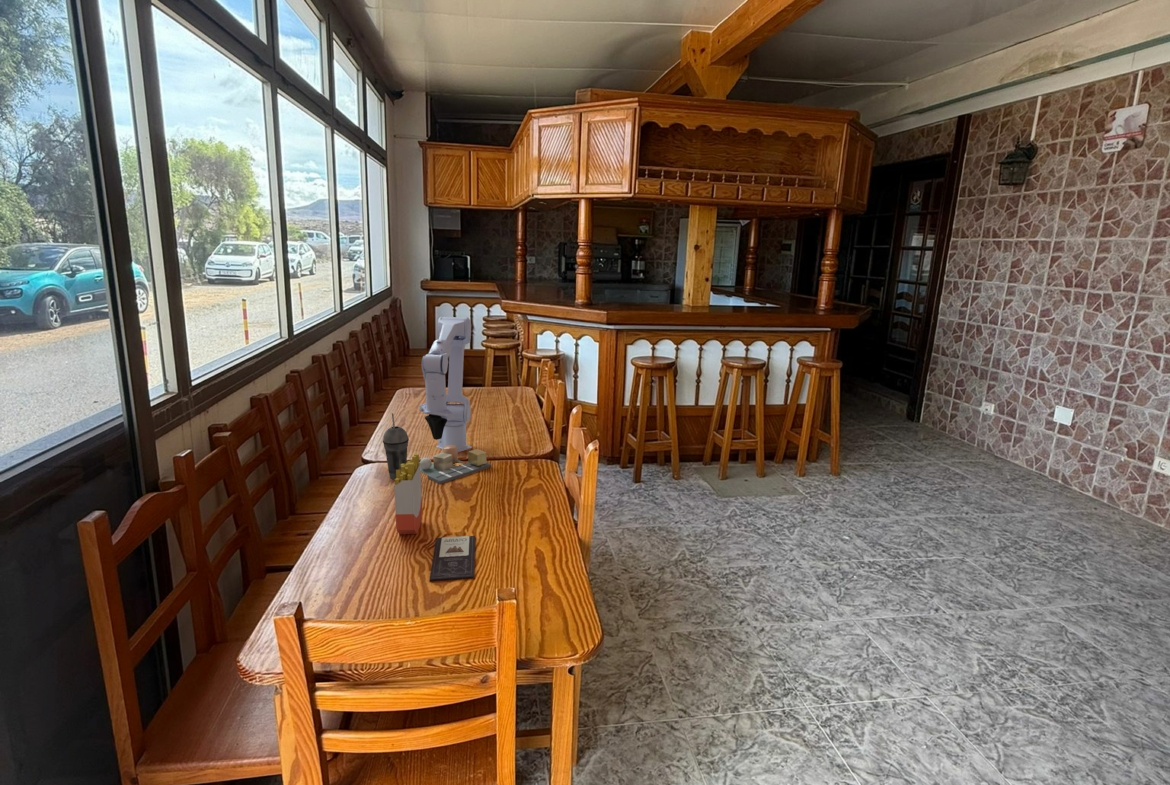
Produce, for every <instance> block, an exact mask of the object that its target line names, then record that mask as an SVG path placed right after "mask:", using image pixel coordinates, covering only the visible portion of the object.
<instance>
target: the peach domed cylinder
mask: <svg viewBox="0 0 1170 785" xmlns="http://www.w3.org/2000/svg"><path fill="white" fill-rule="evenodd" d="M442 453H447V454H451V455H452V462H453V464H455V463H457V462H458V460H459V458H458V452H457V446H456V445H446V446H443V450H442Z"/></svg>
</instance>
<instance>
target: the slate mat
mask: <svg viewBox="0 0 1170 785" xmlns="http://www.w3.org/2000/svg"><path fill="white" fill-rule="evenodd" d="M457 463H465V462H464V461H462V460H459V459H458V462H457ZM453 467H456V466H455V465H453ZM453 467H452V468H453ZM420 470H421V474H422V473H423V474H424V475H426V476H428V475H431V474H434V473H437V472H441V471H442V470H437V469H434V462H432V465H431V467H430V468H429V469H427V470H424V469H422V468H421V467H420Z"/></svg>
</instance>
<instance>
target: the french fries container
mask: <svg viewBox="0 0 1170 785" xmlns="http://www.w3.org/2000/svg"><path fill="white" fill-rule="evenodd" d="M400 466H401V470H396V479H395V480H394V484H395V485H394V505H395V508H394V509H395V510H394V511H395V512H394V513H395V525H396V527H395V528H396V529H395V530H396V531H397V533H398V534H399V535H417V534H418V532H419V529H420V526H421V525H422V515H423V495H422V493H423V492H422V475H421V474H422V472H421V470H420V454H419V453H414V454H413V455H412V456H411V460H407V463H406V464H401V465H400Z"/></svg>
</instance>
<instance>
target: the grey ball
mask: <svg viewBox="0 0 1170 785" xmlns="http://www.w3.org/2000/svg"><path fill="white" fill-rule="evenodd" d="M419 463H420V467H421V468H422V469H424V470H427V469H429V468H430V467H431V465H432V464H433V462H432V460H431V459H430V458H428V457H423V458H421V459H420V460H419Z"/></svg>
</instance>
